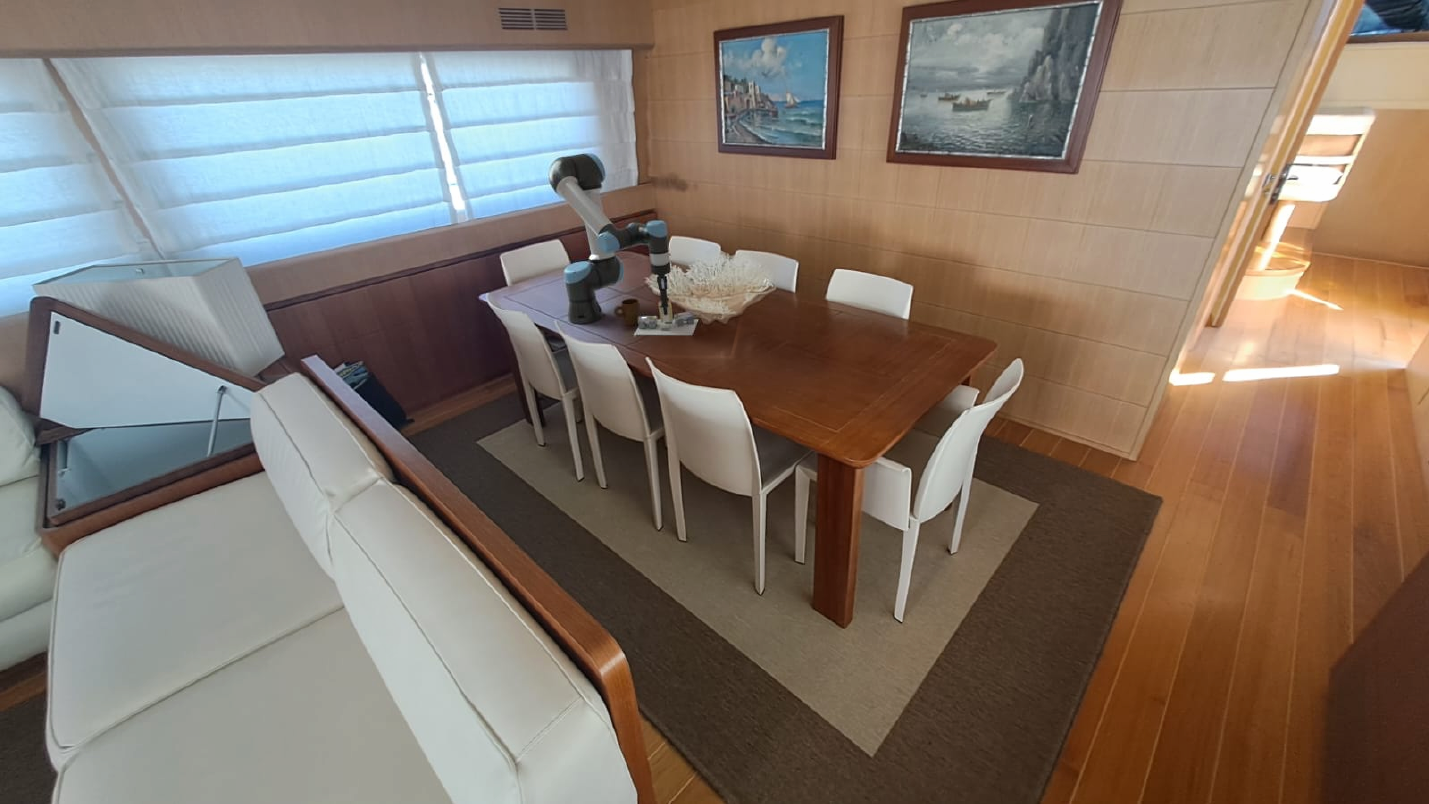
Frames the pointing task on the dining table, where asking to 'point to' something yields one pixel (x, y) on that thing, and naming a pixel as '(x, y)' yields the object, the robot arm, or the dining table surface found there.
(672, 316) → the coupler
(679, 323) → the grey metal block
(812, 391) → the dining table surface
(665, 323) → the rig board
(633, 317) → the mug
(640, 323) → the grey mechanical block
